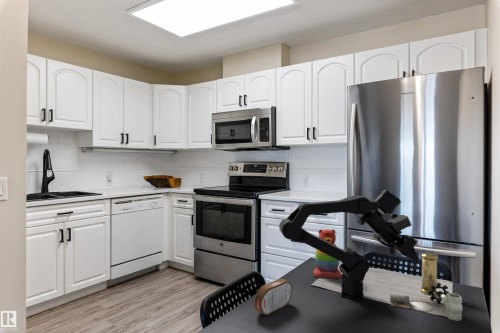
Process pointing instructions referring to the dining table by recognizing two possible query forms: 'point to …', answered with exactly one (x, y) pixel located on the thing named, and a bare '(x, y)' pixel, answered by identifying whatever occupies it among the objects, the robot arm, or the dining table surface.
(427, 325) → the dining table surface
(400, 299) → the small brown box
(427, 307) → the gap pad
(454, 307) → the valve
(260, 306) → the tin
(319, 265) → the stacking bear
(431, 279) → the gold tall rounded piece
